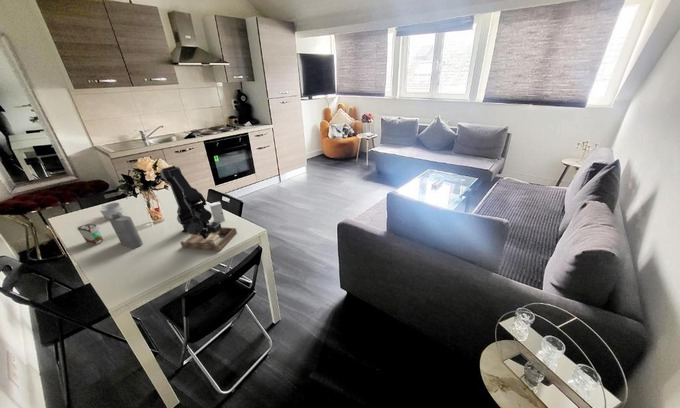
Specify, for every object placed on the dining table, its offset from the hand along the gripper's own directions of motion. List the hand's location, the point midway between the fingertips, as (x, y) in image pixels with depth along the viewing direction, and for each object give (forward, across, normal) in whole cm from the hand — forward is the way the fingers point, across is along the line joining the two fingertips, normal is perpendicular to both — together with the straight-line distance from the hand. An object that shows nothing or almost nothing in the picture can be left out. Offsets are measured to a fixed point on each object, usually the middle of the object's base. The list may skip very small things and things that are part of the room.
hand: (206, 239), depth 144 cm
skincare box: (+3, -8, +24) cm, 26 cm away
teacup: (+4, -86, +20) cm, 88 cm away
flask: (+4, -44, -6) cm, 45 cm away
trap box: (+3, -2, +4) cm, 5 cm away
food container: (+4, -67, -6) cm, 68 cm away
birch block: (+1, +4, 0) cm, 4 cm away
